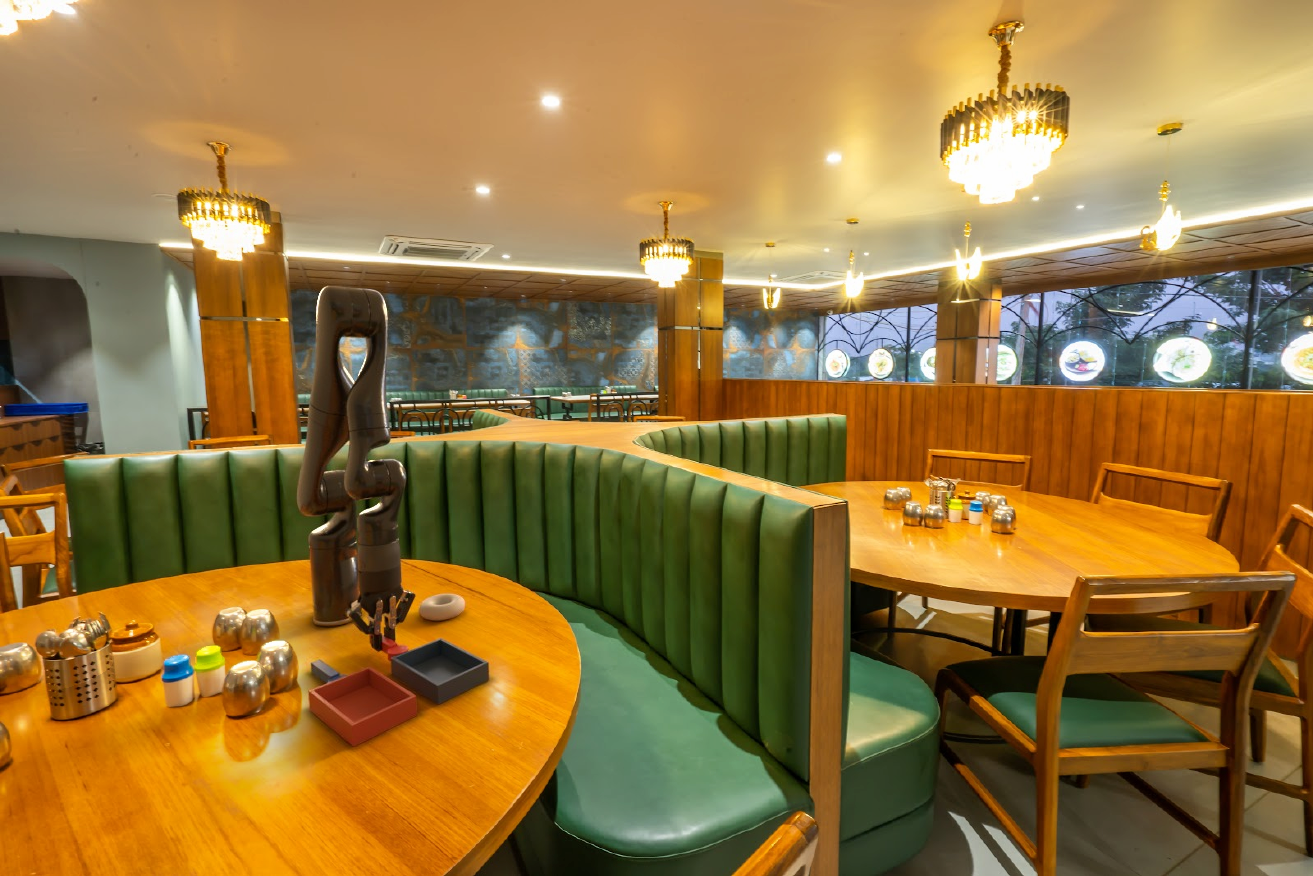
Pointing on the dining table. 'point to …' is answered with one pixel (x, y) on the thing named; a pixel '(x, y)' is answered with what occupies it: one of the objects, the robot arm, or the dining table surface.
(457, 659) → the blue tray
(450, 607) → the donut
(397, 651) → the red spoon
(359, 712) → the red tray
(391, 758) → the dining table surface
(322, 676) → the blue spoon
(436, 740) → the dining table surface
